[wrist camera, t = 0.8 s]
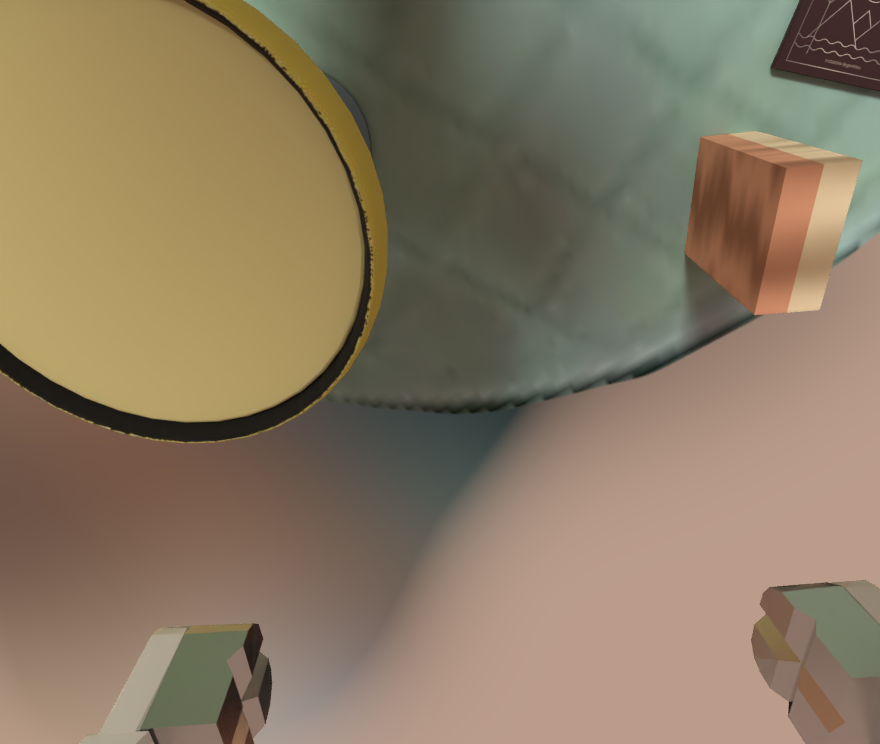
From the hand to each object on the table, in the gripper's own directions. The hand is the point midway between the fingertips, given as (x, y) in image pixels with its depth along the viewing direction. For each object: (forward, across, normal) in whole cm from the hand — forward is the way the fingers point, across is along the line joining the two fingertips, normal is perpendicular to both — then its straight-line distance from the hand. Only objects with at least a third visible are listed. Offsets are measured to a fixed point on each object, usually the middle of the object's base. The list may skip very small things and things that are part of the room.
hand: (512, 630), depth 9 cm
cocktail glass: (+39, +10, -7) cm, 40 cm away
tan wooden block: (+37, -22, -2) cm, 43 cm away
